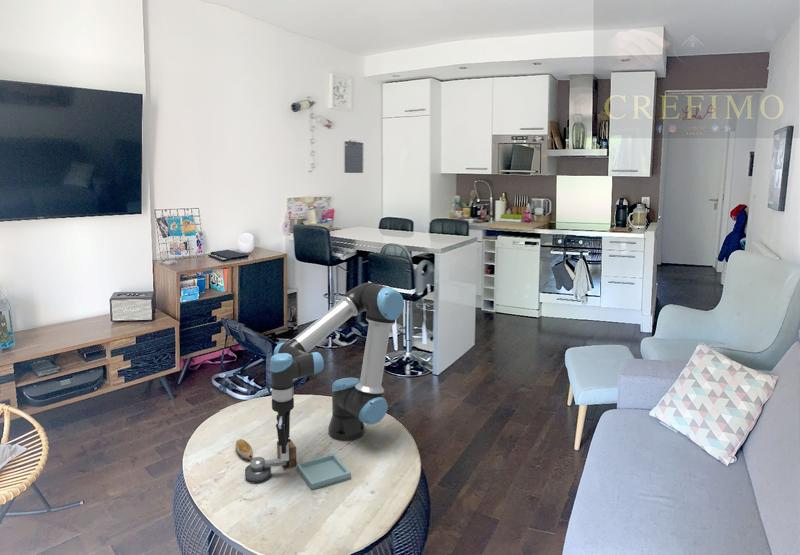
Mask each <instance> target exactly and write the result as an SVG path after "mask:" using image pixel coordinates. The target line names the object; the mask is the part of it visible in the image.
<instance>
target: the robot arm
mask: <svg viewBox="0 0 800 555" xmlns="http://www.w3.org/2000/svg"><path fill="white" fill-rule="evenodd" d="M404 308H405V301H404V298H403V295H402V294H401V293H400V292H399V291H398V290H396V289H394V288H392V287H390V286H386V285H381V284H378V283H375V282H364V283H361V284H359V285H357V286H355V287H354V288H352V289H349V291H347V292H346V293H345V294H343V295H342V296H340V301H339V302H337V303H336V304H335V305H333V306H332V307H331V308H330V309H328V310H327V311H326V312H325V313H323V314H322V315H321V316H320V317H319V318H318V319H316V320H314V322H312V323H311V324H310V325H309V326H307V327H306V328H305V329H303V331H301V332H299V334H297V335H296V336H295V337H293V339H291V340H290V341H289V342H280V343H278V344H277V345H276V346H275V347H274V350H273V355H272V356H271V357H270V363H269V364H270V365H269V371H270V386H271V388H270V389H269V391H270V392H271V408H272V411H274V412H276V413H277V415H276V421H277V423H276V424H275V428H276V431H277V432H276V434H277V441H278V445H279V446H280V454H281V461H289V444H288V442H290V441H292V439H291V438H290V430H291V429H290V428H291V427H290V426H291V425H290V423H291V422H290V421H291V411H292V410H293V409H294V408H295V402H294V401H295V399H294V398H295V397H294V395H295V394H294V393H295V392H294V380H296V379H300V378H305V377H308V376H312V375H315V374H319V373H321V372H322V371H323V370H324V367H325V364H324V363H325V361H324V358H323V355H321V353H320V352H317V351H315V352H310V351H311V350H313V349H314V348H315V347H316V346H317V345H319V344H320V343H321V342H323V341H324V340H325V339H326V338H327V337H329V335H331V334H333V332H334V331H336V330H337V329H338V328H340V327H341V326H342V325H343V324H344V323H346V321H348V320H349V319H350V318H351V317H357V316H358V315H359V314H361V313H363V312H366V314H365V320H366V321H367V322H368V327H367V333H366V334H367V335H366V340H365V346H364V353H363V360H362V365H361V371H360V372H361V373H360V378H357V377H343V378H340V379H339V378H338V379H336V380H334V382H333V383H332V386H331V398H332V400H331V401H332V403H331V406H332V408H331V409H332V410H331V413H332V416H331V418H330V421H329V424H328V433H327V434H328V435H329V437H331V438H332V439H335V440H338V441H353V440H358V439H359V438H361V437H362V436H363V435H364V434H365V429H366V428H365V424H367V425H369V426H371V425H375V424H378V423H380V422H381V420H383V419H384V417H385V416H386V414H387V412H388V406H389V405H388V402H387V400H386V399H385V397H384V393H385V389H384V388H383V385H382V382H383V377H384V376H383V375H384V371H385V363H386V357H387V351H388V344H389V341H390V340H389V338H390V332H391V327H392V326H393V325H394V324H396V320H398V319H399V318H400V317H401V315H403V312H404ZM289 438H290V439H289Z"/></svg>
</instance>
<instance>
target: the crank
mask: <svg viewBox="0 0 800 555" xmlns="http://www.w3.org/2000/svg"><path fill="white" fill-rule="evenodd" d="M289 449H290V447H289ZM249 461H250V462H249V463H250V464H251V471H253V472H260V471H262V470H264V469H265V467H271V468H272V467H280V466H281V467H282V466H283V467H284V468H288V467H290V458H289V461H281V459H277V458H274V459H265V457H262V456H255V457H252V458H251V459H250V460H249ZM250 464H249V465H250ZM288 469H289V468H288Z"/></svg>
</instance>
